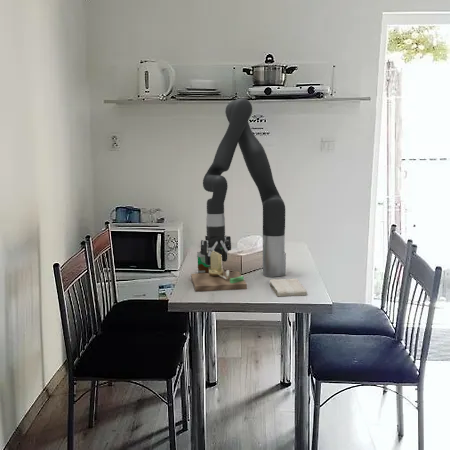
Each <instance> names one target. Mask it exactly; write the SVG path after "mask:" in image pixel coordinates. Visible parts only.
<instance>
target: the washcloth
mask: <svg viewBox="0 0 450 450" xmlns="http://www.w3.org/2000/svg"><path fill="white" fill-rule="evenodd" d="M269 285H270V288H271V290H272V291H273V293H274V294H275V296H276V297H297V296H298V297H299V296H307V295H308V292H307V289H306V288H305V287H304V286H303V284H302V283H301V282H300V281H299V279H298V278H287V279H285V278H275V279H270V280H269Z"/></svg>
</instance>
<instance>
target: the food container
mask: <svg viewBox="0 0 450 450" xmlns="http://www.w3.org/2000/svg"><path fill="white" fill-rule="evenodd" d="M210 249H211V248H210ZM196 257H197V271H198V272H197V274H198V273H209V269H210V268H211V265H206V263H205V255H201V250H200V251H197V254H196Z"/></svg>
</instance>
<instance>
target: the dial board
mask: <svg viewBox="0 0 450 450" xmlns="http://www.w3.org/2000/svg"><path fill="white" fill-rule="evenodd" d="M222 276H224V277H226V271H225V272H224V271H223V275H222ZM190 277H191V278H190V279H191V281H192V285H193V288H194V291H195V292H211V291H214V292H215V291H230V290H231V291H232V290H234V291H235V290H247V287H248V286H247V282H246V281H245V278H244V276H242V274H241V273H240V272H239V271H229V281H227V280H225V279H223V278H221V277H219V276H211V275H209V273H198V272H197V273H190Z"/></svg>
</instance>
